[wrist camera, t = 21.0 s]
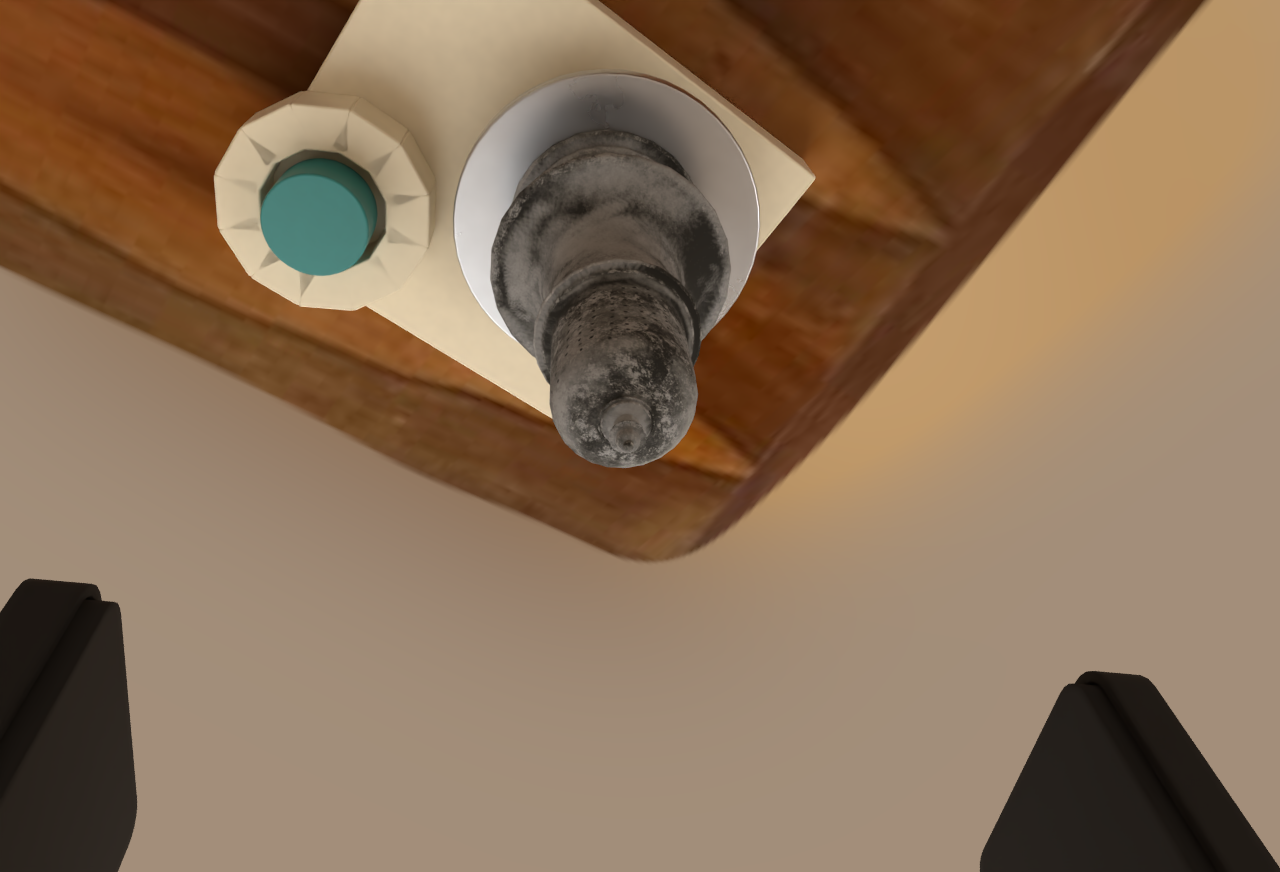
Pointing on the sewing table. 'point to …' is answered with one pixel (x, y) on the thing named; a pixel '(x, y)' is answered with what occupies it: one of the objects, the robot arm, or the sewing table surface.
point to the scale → (444, 154)
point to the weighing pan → (593, 107)
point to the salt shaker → (612, 290)
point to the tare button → (319, 217)
